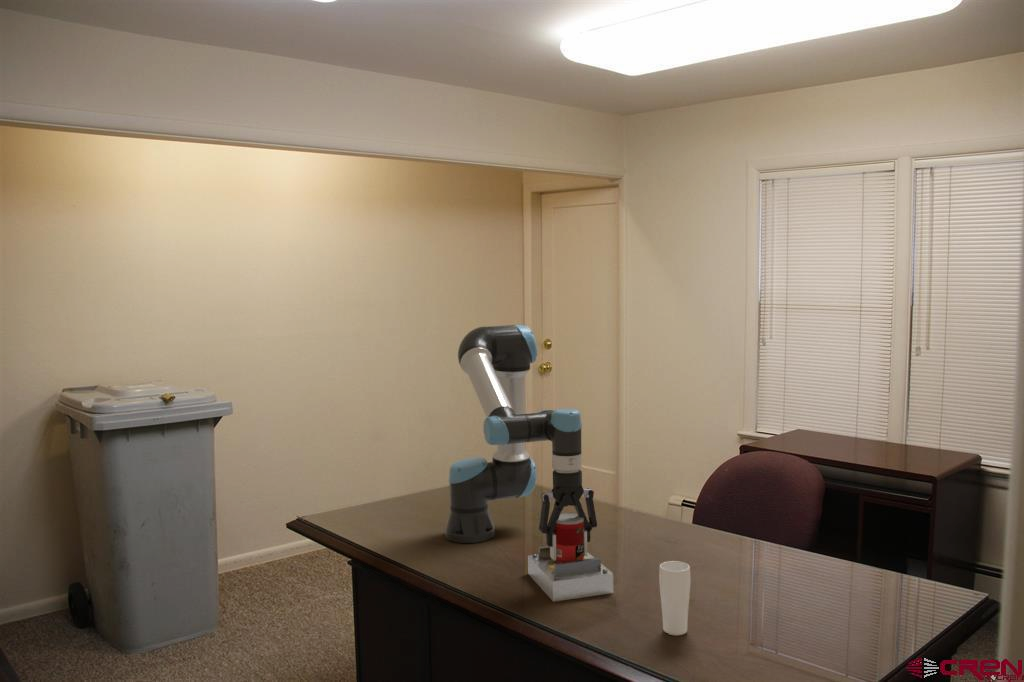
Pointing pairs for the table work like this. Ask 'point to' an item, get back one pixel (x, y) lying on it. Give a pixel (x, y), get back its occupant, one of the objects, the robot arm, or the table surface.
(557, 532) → the canned food
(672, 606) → the drinking glass
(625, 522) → the table surface
